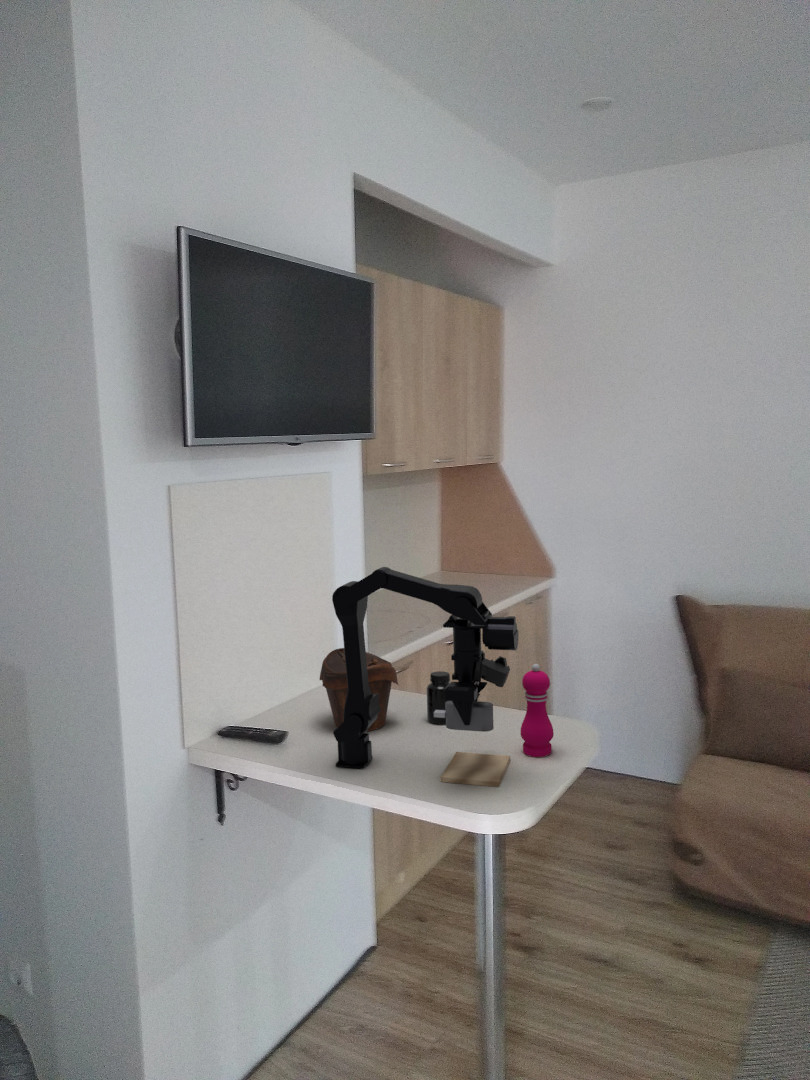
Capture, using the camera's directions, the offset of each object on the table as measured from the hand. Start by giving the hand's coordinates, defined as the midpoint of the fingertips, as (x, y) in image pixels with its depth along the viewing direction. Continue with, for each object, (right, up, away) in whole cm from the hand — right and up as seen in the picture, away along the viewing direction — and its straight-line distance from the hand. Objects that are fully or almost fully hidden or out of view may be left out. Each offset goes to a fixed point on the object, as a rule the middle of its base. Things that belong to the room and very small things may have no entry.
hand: (469, 721), depth 170 cm
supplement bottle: (-4, -7, +34) cm, 35 cm away
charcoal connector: (-1, -1, +1) cm, 2 cm away
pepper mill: (+16, -9, +11) cm, 22 cm away
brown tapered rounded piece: (-24, -8, +34) cm, 42 cm away
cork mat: (+2, -11, +2) cm, 11 cm away
